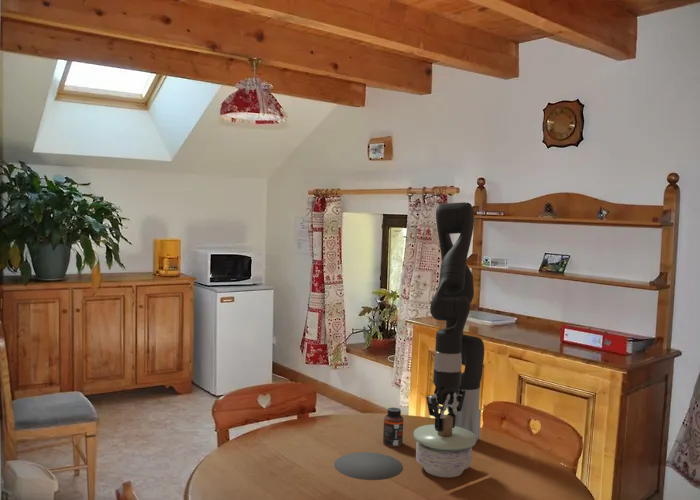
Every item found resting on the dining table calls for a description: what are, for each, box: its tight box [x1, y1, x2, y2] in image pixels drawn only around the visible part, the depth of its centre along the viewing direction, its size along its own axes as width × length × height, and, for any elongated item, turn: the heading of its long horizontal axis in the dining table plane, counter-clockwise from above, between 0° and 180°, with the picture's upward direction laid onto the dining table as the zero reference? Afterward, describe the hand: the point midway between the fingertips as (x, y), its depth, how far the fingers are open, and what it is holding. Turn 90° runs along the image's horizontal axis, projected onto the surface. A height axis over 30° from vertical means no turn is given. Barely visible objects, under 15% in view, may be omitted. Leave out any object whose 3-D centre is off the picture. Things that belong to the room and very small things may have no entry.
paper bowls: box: [415, 441, 473, 478], centre depth 171 cm, size 15×15×8 cm
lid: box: [413, 414, 477, 450], centre depth 171 cm, size 17×17×6 cm
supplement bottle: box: [382, 407, 404, 448], centre depth 189 cm, size 6×6×11 cm
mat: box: [334, 451, 404, 481], centre depth 172 cm, size 19×19×1 cm
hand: (444, 428), depth 171 cm, fingers open, 4 cm apart
